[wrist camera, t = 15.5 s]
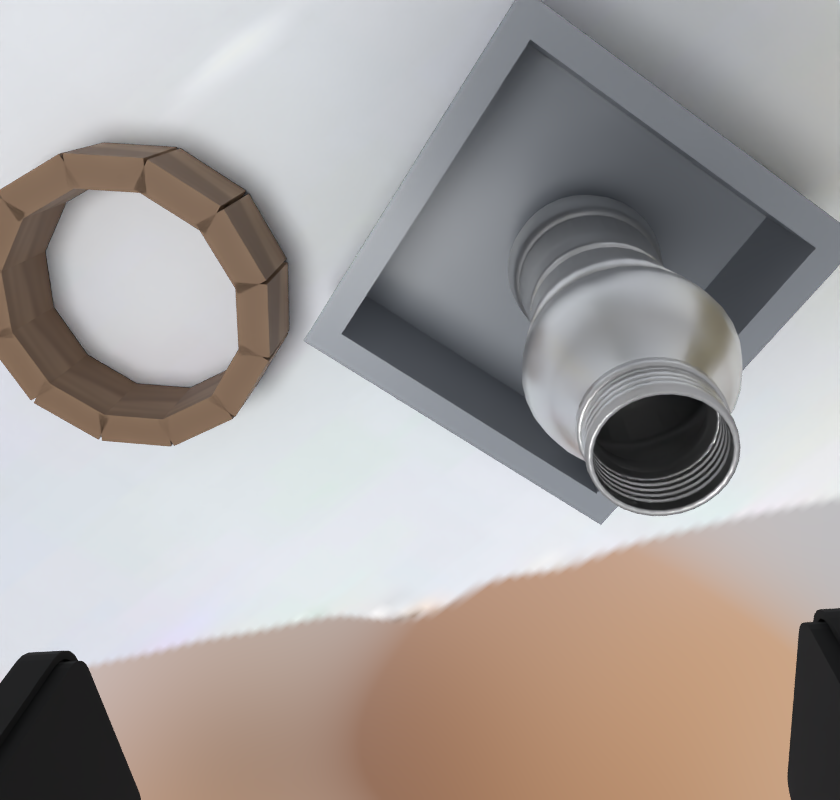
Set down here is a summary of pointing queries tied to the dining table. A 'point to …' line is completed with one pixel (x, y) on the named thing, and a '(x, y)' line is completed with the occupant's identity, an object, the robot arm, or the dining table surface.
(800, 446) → the dining table surface
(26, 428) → the dining table surface
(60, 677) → the robot arm
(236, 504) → the dining table surface
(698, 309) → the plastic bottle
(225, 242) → the walnut collar
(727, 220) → the charcoal bin
